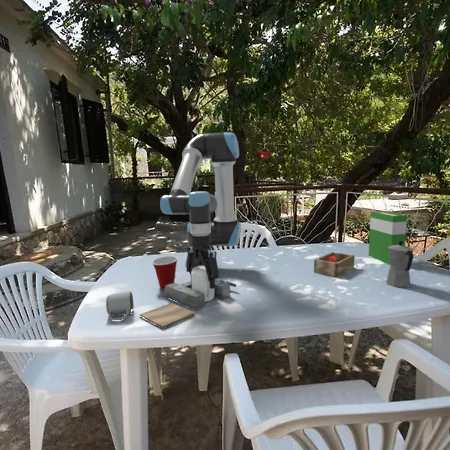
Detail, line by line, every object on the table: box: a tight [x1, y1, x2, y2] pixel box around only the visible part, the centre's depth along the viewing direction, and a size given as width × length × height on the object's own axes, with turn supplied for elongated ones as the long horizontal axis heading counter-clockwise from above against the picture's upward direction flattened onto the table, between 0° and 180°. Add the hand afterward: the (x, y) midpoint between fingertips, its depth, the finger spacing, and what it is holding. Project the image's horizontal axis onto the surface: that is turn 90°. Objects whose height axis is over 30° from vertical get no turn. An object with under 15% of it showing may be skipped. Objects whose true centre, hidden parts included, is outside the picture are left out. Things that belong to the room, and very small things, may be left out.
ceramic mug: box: [105, 290, 135, 321], centre depth 113 cm, size 11×8×8 cm
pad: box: [139, 302, 196, 329], centre depth 112 cm, size 13×13×1 cm
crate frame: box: [313, 251, 355, 278], centre depth 156 cm, size 11×18×6 cm, turn 136°
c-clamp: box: [164, 279, 237, 311], centre depth 130 cm, size 18×23×5 cm
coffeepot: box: [386, 241, 414, 288], centre depth 134 cm, size 15×9×18 cm, turn 0°
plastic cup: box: [151, 255, 178, 289], centre depth 139 cm, size 11×11×12 cm
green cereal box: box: [368, 210, 408, 266], centre depth 169 cm, size 18×7×24 cm, turn 10°
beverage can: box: [190, 266, 215, 303], centre depth 125 cm, size 8×8×12 cm
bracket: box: [328, 256, 346, 275], centre depth 156 cm, size 12×4×8 cm, turn 10°
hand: (202, 293), depth 126 cm, fingers closed on beverage can, 8 cm apart
